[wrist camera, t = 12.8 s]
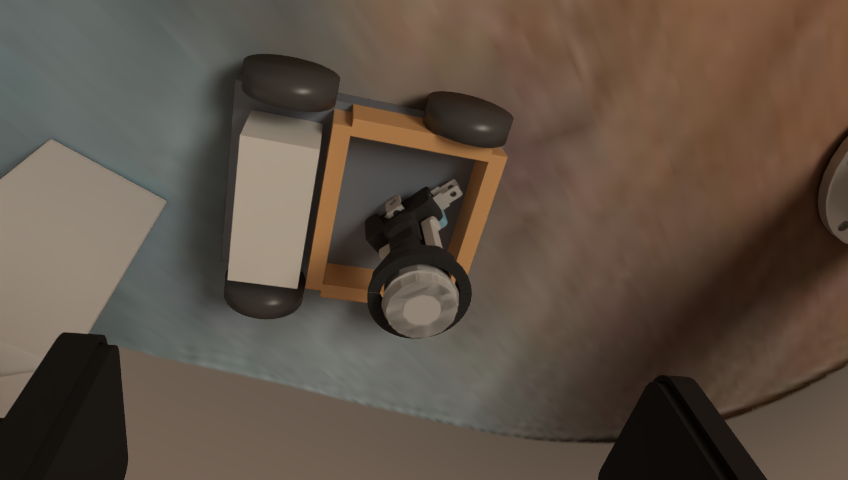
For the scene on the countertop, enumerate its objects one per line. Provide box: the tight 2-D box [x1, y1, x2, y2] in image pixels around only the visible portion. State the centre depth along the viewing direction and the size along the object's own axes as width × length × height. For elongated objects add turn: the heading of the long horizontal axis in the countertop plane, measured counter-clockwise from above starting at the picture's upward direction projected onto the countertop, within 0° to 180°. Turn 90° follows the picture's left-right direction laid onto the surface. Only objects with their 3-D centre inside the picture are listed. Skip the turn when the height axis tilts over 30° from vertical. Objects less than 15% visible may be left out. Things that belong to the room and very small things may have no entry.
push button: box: [365, 179, 472, 338], centre depth 32 cm, size 7×5×10 cm
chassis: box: [221, 54, 513, 319], centre depth 34 cm, size 16×15×6 cm
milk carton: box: [0, 139, 167, 418], centre depth 27 cm, size 7×7×19 cm
